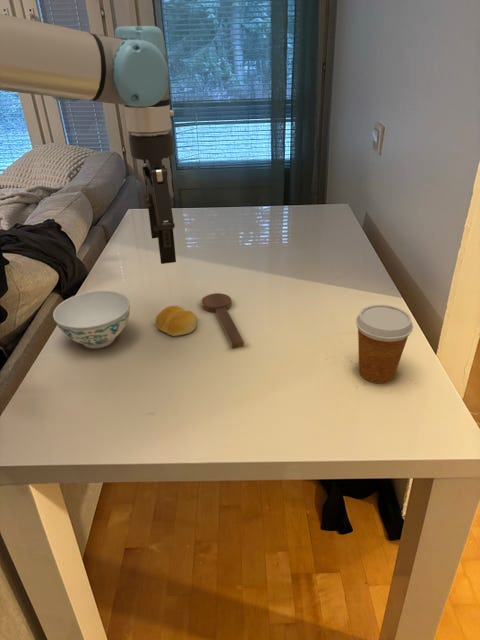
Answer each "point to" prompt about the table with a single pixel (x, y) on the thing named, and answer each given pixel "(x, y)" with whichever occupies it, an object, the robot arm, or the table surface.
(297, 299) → the table surface
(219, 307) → the wooden spoon
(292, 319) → the table surface
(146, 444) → the table surface
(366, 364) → the disposable coffee cup
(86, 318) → the chinaware
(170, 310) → the bread roll
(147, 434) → the table surface
